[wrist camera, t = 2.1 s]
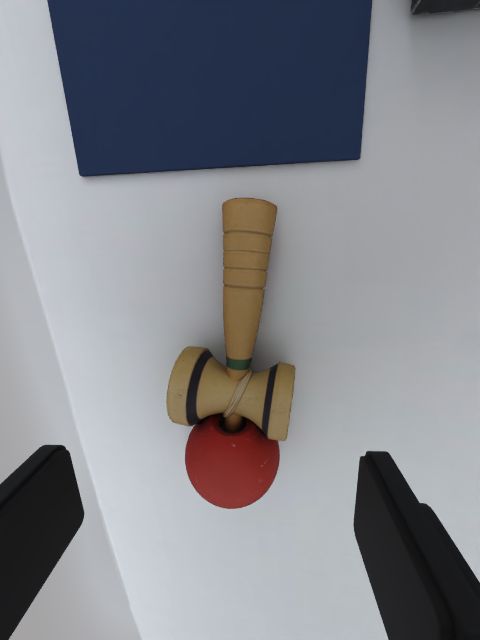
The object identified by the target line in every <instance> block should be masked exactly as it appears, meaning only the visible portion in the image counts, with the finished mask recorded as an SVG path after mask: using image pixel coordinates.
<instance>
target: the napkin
mask: <svg viewBox="0 0 480 640" xmlns="http://www.w3.org/2000/svg"><path fill="white" fill-rule="evenodd" d="M47 1H48V6H49V11H50V17H51V22H52V28H53V33H54V39H55V44H56V49H57V55H58V60H59V66H60V71H61V77H62V82H63V87H64V93H65V98H66V104H67V109H68V115H69V120H70V125H71V131H72V136H73V142H74V147H75V153H76V158H77V163H78V169H79V174H80V176H83V177H84V176H100V175H116V174H132V173H148V172H165V171H181V170H197V169H213V168H229V167H245V166H262V165H278V164H294V163H310V162H326V161H342V160H358V159H360V153H361V140H362V127H363V114H364V101H365V88H366V74H367V61H368V48H369V35H370V22H371V8H372V0H47Z"/></svg>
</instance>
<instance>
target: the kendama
mask: <svg viewBox="0 0 480 640" xmlns="http://www.w3.org/2000/svg"><path fill="white" fill-rule="evenodd" d="M222 213H223V232H224V236H223V249H224V254H223V255H224V258H223V266H224V270H223V283H224V285H225V286H224V287H223V317H224V335H225V348H226V359H227V368H226V367H224V366H223V365H222V364H220V363H219V362H218V361H217V360H216V359H215V358H214V356H213V355H212V354H211V352H210V351H209V350H208V349H207V348H201V347H187V348H185V349H184V350H183V351H182V353H181V354H180V355H179V357H178V359H177V361H176V363H175V365H174V367H173V370H172V373H171V376H170V380H169V385H168V390H167V411H168V416H169V418H170V420H171V421H172V422H174V423H178V424H182V425H186V426H193V425H194V424H195V426H194V427H193V429H192V431H191V433H190V435H189V438H188V441H187V444H186V451H185V464H186V469H187V474H188V476H189V479H190V481H191V483H192V485H193V487H194V488H195V490H196V491H197V492H198V493H199V494H200V495H201V496H202V497H203V498H204V499H205V500H207V501H208V502H210V503H211V504H213V505H215V506H218V507H222V508H227V509H235V508H242V507H245V506H248V505H250V504H252V503H254V502H255V501H257V500H258V499H260V498H261V497H262V496H263V495H264V494H265V493H266V492H267V490H268V489H269V488H270V486H271V485H272V483H273V481H274V479H275V476H276V474H277V470H278V466H279V458H280V454H279V445H278V440H281V441H284V440H286V438H287V432H288V425H289V418H290V412H291V404H292V397H293V389H294V380H295V366H294V365H291V364H287V363H283V362H279V363H278V364H276V365H275V366H273V367H271V368H269V369H267V370H265V371H262V372H257V373H253V372H252V371H251V370H250V363H251V361H252V354H253V350H254V346H255V341H256V337H257V332H258V327H259V322H260V317H261V310H262V304H263V297H264V289H263V288H264V287H265V283H266V276H267V272H266V270H267V268H268V262H269V254H270V248H271V242H272V239H271V236H272V235H273V230H274V225H275V219H276V214H277V207H276V205H274V204H272V203H271V202H268V201H265V200H260V199H254V198H235V199H230V200H227V201H226V202H224V203H223V205H222Z"/></svg>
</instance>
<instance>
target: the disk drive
mask: <svg viewBox="0 0 480 640" xmlns="http://www.w3.org/2000/svg"><path fill="white" fill-rule="evenodd" d="M479 8H480V0H412V6H411V12H412V14H413V15H417V14H419V13H422V12H426V13H428V14H436V13H447V12H455V11H464V10H470V9H479Z"/></svg>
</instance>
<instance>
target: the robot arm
mask: <svg viewBox="0 0 480 640" xmlns="http://www.w3.org/2000/svg"><path fill="white" fill-rule="evenodd" d="M83 518H84V510H83V505H82V501H81V497H80V493H79V489H78V485H77V481H76V477H75V473H74V469H73V464H72V460H71V456H70V453H69V451H68V450H66V448H65V447H64V446H63V445H43V446H42V447H40V448H39V449H38V450H37V451H36V452H35V453H33V454H32V455H31V456H30V457H29V458H28V459H27V460H26V461H25V462H24V463H23V464H22V465H21V466H19V468H17V469H16V470H15V471H14V472H13V473H12V474H11V475H10V476H9V477H8V478H7V479H6V480H4V481H3V482H2V483H1V484H0V640H9V638H10V636H11V635H12V633H13V632H14V630H15V629H16V627H17V625H18V624H19V622H20V621H21V619H22V618H23V616H24V614H25V613H26V611H27V610H28V608H29V607H30V605H31V603H32V602H33V600H34V598H35V597H36V595H37V594H38V592H39V591H40V589H41V588H42V586H43V584H44V583H45V581H46V580H47V578H48V577H49V575H50V573H51V572H52V570H53V568H54V567H55V565H56V564H57V562H58V561H59V559H60V558H61V556H62V554H63V553H64V551H65V550H66V548H67V547H68V545H69V543H70V542H71V540H72V539H73V537H74V536H75V534H76V532H77V531H78V529H79V528H80V526H81V524H82V522H83ZM354 532H355V536H356V540H357V543H358V546H359V549H360V552H361V555H362V558H363V562H364V565H365V568H366V571H367V574H368V577H369V580H370V583H371V586H372V589H373V593H374V596H375V599H376V602H377V605H378V608H379V611H380V614H381V617H382V620H383V624H384V627H385V630H386V633H387V636H388V639H389V640H480V582H479V581H478V579H477V578H476V576H475V575H474V573H473V571H472V570H471V568H470V567H469V565H468V564H467V562H466V561H465V559H464V558H463V556H462V554H461V553H460V551H459V550H458V548H457V547H456V545H455V544H454V542H453V540H452V539H451V537H450V536H449V534H448V533H447V531H446V530H445V528H444V526H443V525H442V523H441V522H440V520H439V519H438V517H437V516H436V514H435V513H434V511H433V510H432V509H431V507H429V506H428V505H427V504H424V503H419V501H418V500H417V498H416V496H415V495H414V493H413V491H412V490H411V488H410V487H409V485H408V483H407V482H406V480H405V478H404V477H403V475H402V473H401V472H400V470H399V469H398V467H397V465H396V464H395V462H394V460H393V459H392V457H391V455H390V454H389V453H388V452H384V451H367V452H366V455H365V456H361V457H360V462H359V472H358V483H357V493H356V504H355V514H354Z"/></svg>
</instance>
